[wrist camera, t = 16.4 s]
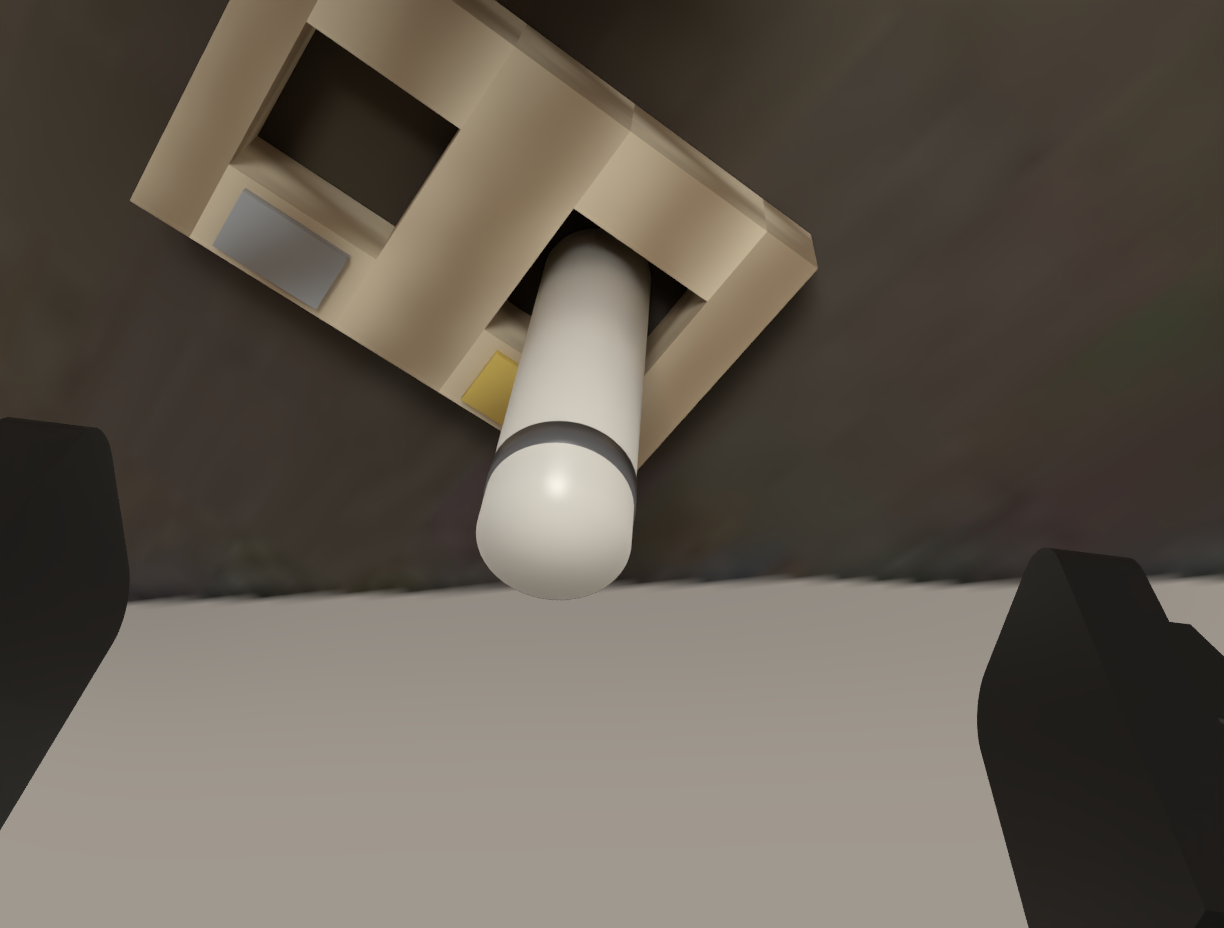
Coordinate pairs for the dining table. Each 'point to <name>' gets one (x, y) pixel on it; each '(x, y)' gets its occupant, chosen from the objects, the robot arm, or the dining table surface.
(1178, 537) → the dining table surface
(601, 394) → the white tall cylinder
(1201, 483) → the dining table surface
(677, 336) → the socket board
